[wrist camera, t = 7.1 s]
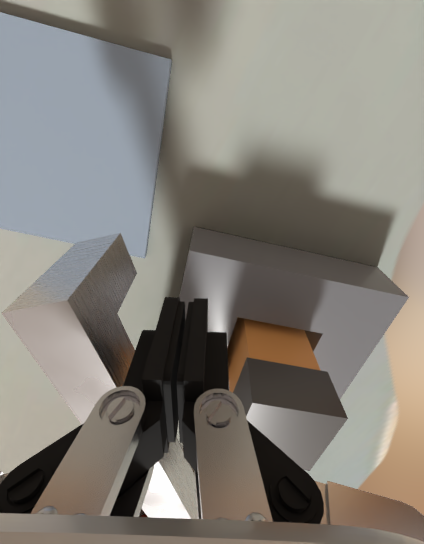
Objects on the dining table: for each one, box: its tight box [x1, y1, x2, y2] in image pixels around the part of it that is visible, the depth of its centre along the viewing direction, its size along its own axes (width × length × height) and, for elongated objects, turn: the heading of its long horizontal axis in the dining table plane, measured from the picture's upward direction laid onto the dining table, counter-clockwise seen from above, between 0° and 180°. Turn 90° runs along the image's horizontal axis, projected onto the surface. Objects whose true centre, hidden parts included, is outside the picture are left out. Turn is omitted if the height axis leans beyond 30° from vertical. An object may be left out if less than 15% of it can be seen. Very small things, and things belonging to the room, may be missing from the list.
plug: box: [227, 317, 348, 471], centre depth 20 cm, size 5×5×10 cm
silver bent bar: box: [2, 233, 198, 519], centre depth 16 cm, size 27×4×5 cm, turn 13°
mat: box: [0, 12, 172, 258], centre depth 18 cm, size 12×12×1 cm
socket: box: [179, 227, 409, 399], centre depth 22 cm, size 22×14×10 cm, turn 167°
